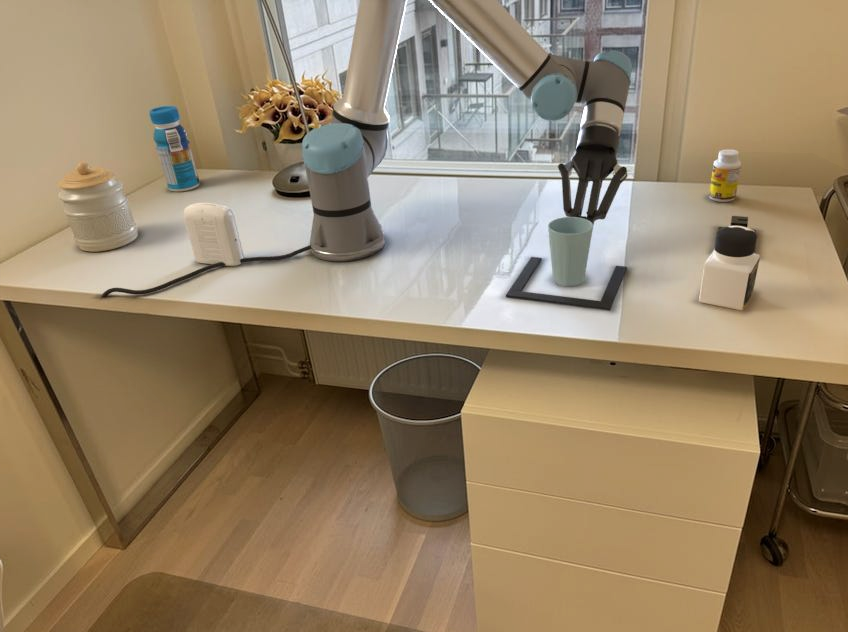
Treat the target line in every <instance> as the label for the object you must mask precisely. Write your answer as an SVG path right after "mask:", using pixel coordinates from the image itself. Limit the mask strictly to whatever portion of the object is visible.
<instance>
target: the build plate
mask: <svg viewBox="0 0 848 632" xmlns="http://www.w3.org/2000/svg"><path fill="white" fill-rule="evenodd" d="M729 226H743V227H747V228H748V226H749V216H743V215H731V219H730V225H729ZM723 227H724V226H718V227H717V231H718V230H719V229H721V228H723ZM750 229H751V230H753V231H754V232H755V233H756V234H757V229H753V228H750ZM756 252H757V245H756V246H755V251H754V254H757V253H756Z"/></svg>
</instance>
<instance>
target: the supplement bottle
mask: <svg viewBox="0 0 848 632" xmlns="http://www.w3.org/2000/svg"><path fill="white" fill-rule="evenodd" d="M739 155H740V151H738V150H735V149H730V148H729V149H722V150H719V151H718V155H717V159H715V160H714V161H713V165H712V172H711V179H710V185H709V191H708V192H709V193H708V197H709V199H711V201H714V202H716V203H717V202H719V203H729V202H732V201H734V200H735V199H736V197H737V191H738V186H739V180H740V175H741V169H742V168H741V167H742V162H741V161H740V160H739Z"/></svg>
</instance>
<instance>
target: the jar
mask: <svg viewBox="0 0 848 632" xmlns="http://www.w3.org/2000/svg"><path fill="white" fill-rule="evenodd" d="M58 187H59V188H61V190H60V191H59V193H58V195H57V196H58V197H57V198H58V199H59V200H60V201H62V202H63V205H64V208H63V212H64V214H65V216H66V219H67V221H68V223H69V226H70V229H71V232H72V234H73V239H74V242H75V243H76V245H77V246H78V249H80V250H82V251H85V252H91V253H92V252H105V251H110V250H114V249H118V248H121V247H124V246H126V245H128V244H130V243H132V242H133V241H135V240H137V238H138V236H139V232H138V227H137V223H136V221H135V219H134V216H133V214H132V210H131V207H130V204H129V199H128V196H126V195H125V193H124V192H123V191H124V190H123V187H124V183H123V181H121V180H119V179H116V172H114V171H112V170H110V169H107V168H106V167H102V166H90V164H88V163H87V162H86V161H80V162H78V163H77V164H76V170H73V171H70V172H68V173H66V174H65V175H64V176H63V178H61V180H59V182H58Z"/></svg>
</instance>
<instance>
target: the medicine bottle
mask: <svg viewBox="0 0 848 632" xmlns="http://www.w3.org/2000/svg"><path fill="white" fill-rule="evenodd" d="M722 227H723V228H721V229H719V230H718V229H717V231H716V234H715V241H714V247H713V250H712V252H711V253H710V255H709V257H708V258H707V259H706V261H705V263H703V269H702V277H701V283H700V291H699V297H698V302H699V303H702V304H707V305H711V306H716V307H721V308H726V309H732V310H736V311H744V310H745V308H746V306H747V304H748V303H749V301H750V299H751V298H752V297H751V296H752V295H753V293H754V288H755V284H756V278H757V275H758V269H759V264H760V258H761V256H760V255H761V254H759V253H756V254H754V251H755V246H756V247H757V239H758V234H757V232H756V233H755V232H754V231H753V230H751V229H752V228H750V227H748V226H747V227H743V226H730V225H727V226H722Z"/></svg>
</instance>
